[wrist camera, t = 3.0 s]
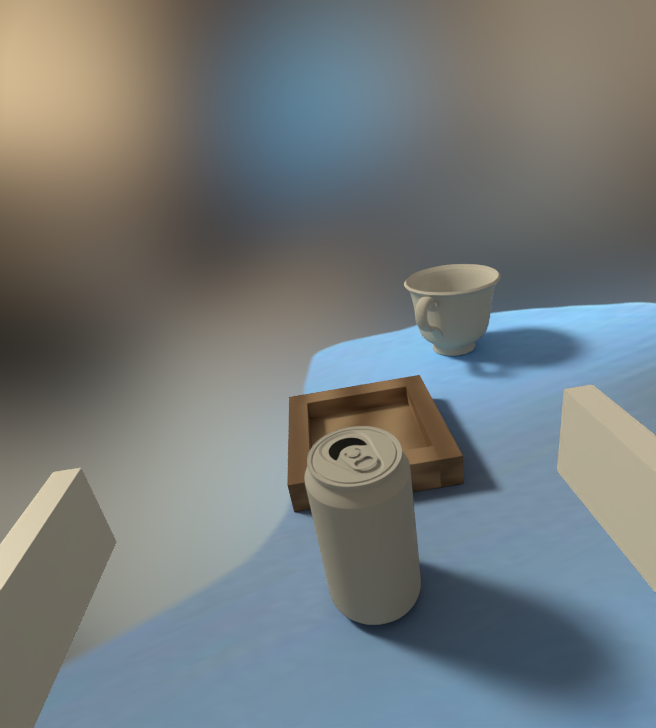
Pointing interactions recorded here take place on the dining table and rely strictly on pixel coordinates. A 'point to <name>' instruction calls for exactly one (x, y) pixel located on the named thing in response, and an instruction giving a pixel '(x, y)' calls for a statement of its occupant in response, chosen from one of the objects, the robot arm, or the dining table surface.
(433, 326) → the teacup
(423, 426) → the tray
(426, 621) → the dining table surface
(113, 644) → the dining table surface
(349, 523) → the beverage can
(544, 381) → the dining table surface
